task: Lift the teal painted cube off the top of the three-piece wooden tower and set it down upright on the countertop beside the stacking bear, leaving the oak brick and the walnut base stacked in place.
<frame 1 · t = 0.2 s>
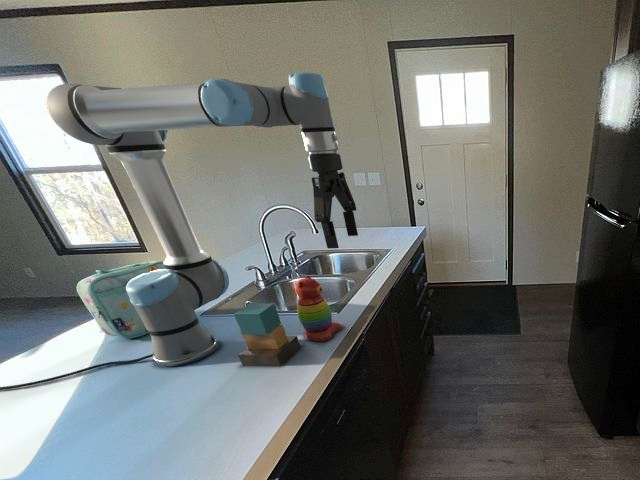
hand: (343, 241, 103), 28 cm above the table, tool pointing down, fingers open, 13 cm apart
oak brick: (268, 344, 105), point 3 cm above the table, touching teal cube, walnut base
walnut base: (272, 355, 107), on the table, touching oak brick
teal cube: (262, 328, 103), point 8 cm above the table, touching oak brick
lunch box: (155, 327, 129), on the table
stacking bear: (321, 333, 118), on the table
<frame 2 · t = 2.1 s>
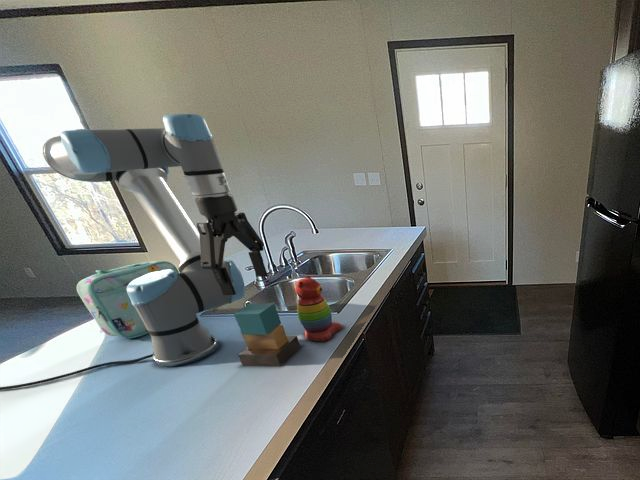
hand: (247, 285, 96), 21 cm above the table, tool pointing down, fingers open, 13 cm apart
nothing on the table moved.
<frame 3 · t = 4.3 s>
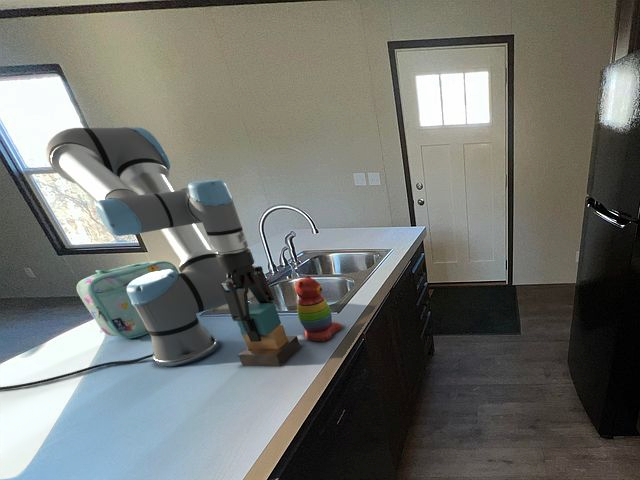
hand: (264, 334, 104), 7 cm above the table, tool pointing down, fingers closed on teal cube, 7 cm apart
teal cube: (262, 328, 103), point 8 cm above the table, touching gripper, oak brick
everything else where it was.
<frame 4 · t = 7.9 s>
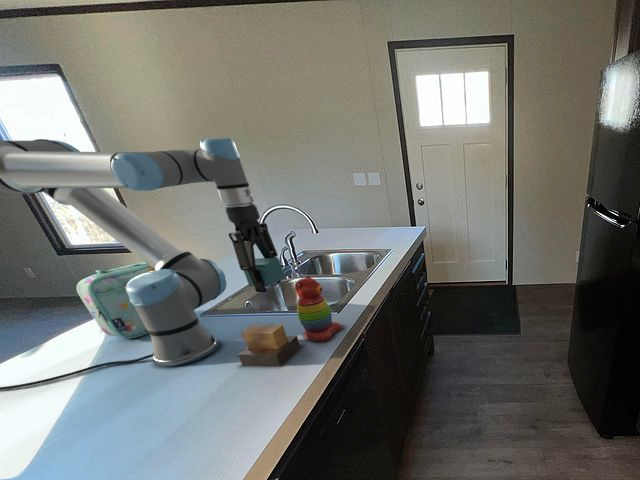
hand: (269, 286, 113), 15 cm above the table, tool pointing down, fingers closed on teal cube, 7 cm apart
oak brick: (268, 344, 105), point 3 cm above the table, touching walnut base
teal cube: (267, 281, 112), point 17 cm above the table, touching gripper
everything else where it was.
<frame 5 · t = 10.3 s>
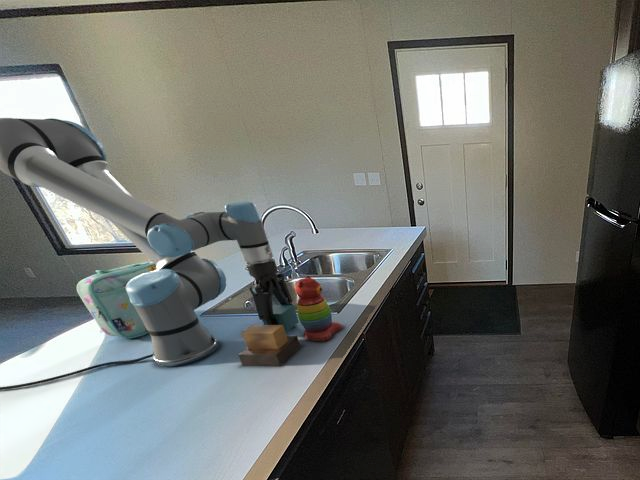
hand: (284, 331, 120), 0 cm above the table, tool pointing down, fingers closed on teal cube, 7 cm apart
teal cube: (283, 326, 120), point 2 cm above the table, touching gripper
everything else where it was.
when the fingers open (0 cm above the table, at t = 11.9 s): teal cube stays where it is, on the table.
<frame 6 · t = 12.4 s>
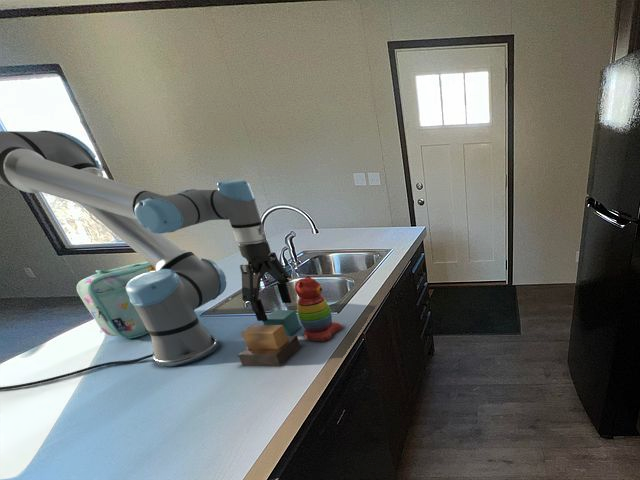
hand: (275, 311, 117), 7 cm above the table, tool pointing down, fingers open, 13 cm apart
teal cube: (284, 331, 120), on the table
everything else where it was.
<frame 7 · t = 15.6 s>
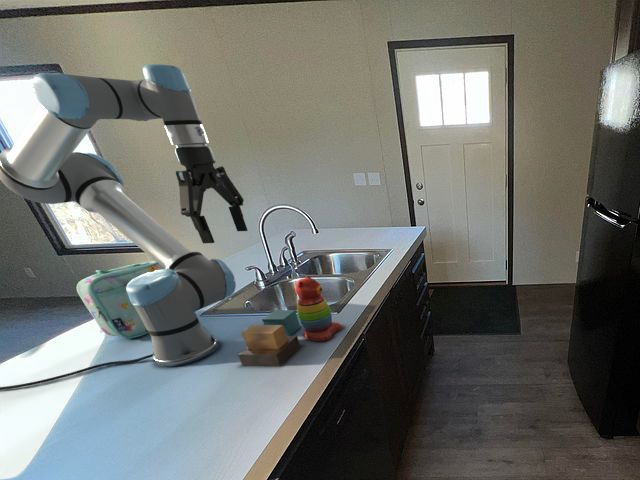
hand: (226, 236, 102), 31 cm above the table, tool pointing down, fingers open, 13 cm apart
nothing on the table moved.
at the end: teal cube inside the target area (0.2 cm from its centre), on the table; teal cube tilted 0°; oak brick 0.0 cm off-centre on the walnut base, point 3.5 cm above the walnut base's base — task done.
